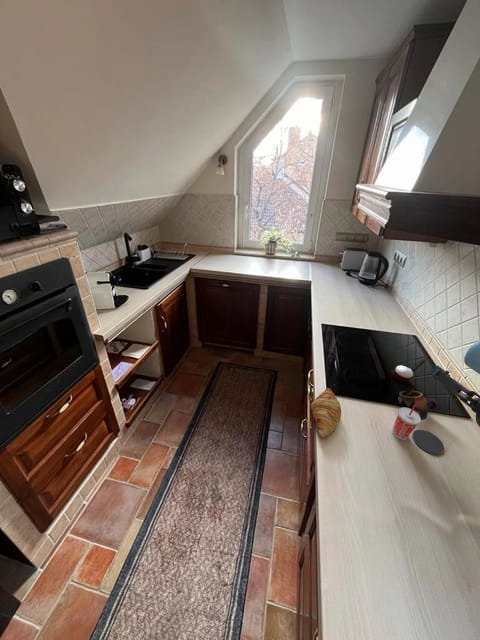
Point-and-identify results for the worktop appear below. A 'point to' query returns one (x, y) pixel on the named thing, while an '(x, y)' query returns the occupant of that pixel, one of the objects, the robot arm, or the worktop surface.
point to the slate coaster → (428, 442)
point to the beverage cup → (405, 422)
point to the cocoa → (405, 372)
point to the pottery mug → (418, 402)
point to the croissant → (326, 412)
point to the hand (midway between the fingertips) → (457, 384)
